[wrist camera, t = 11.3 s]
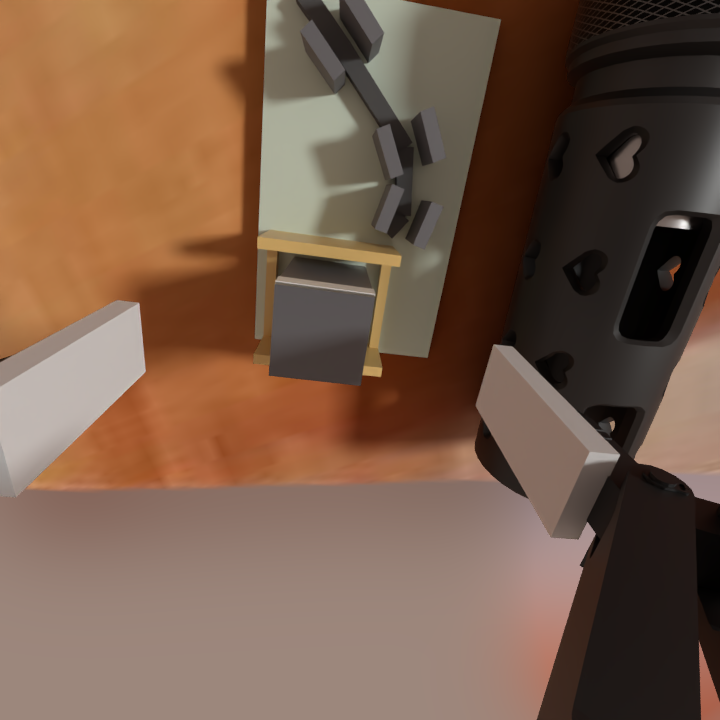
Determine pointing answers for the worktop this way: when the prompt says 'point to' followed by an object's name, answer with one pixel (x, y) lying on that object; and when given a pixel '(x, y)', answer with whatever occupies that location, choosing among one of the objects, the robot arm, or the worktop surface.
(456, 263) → the worktop surface
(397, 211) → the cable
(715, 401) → the worktop surface
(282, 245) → the end holder
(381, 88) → the board
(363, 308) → the plug
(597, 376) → the muzzle brake
